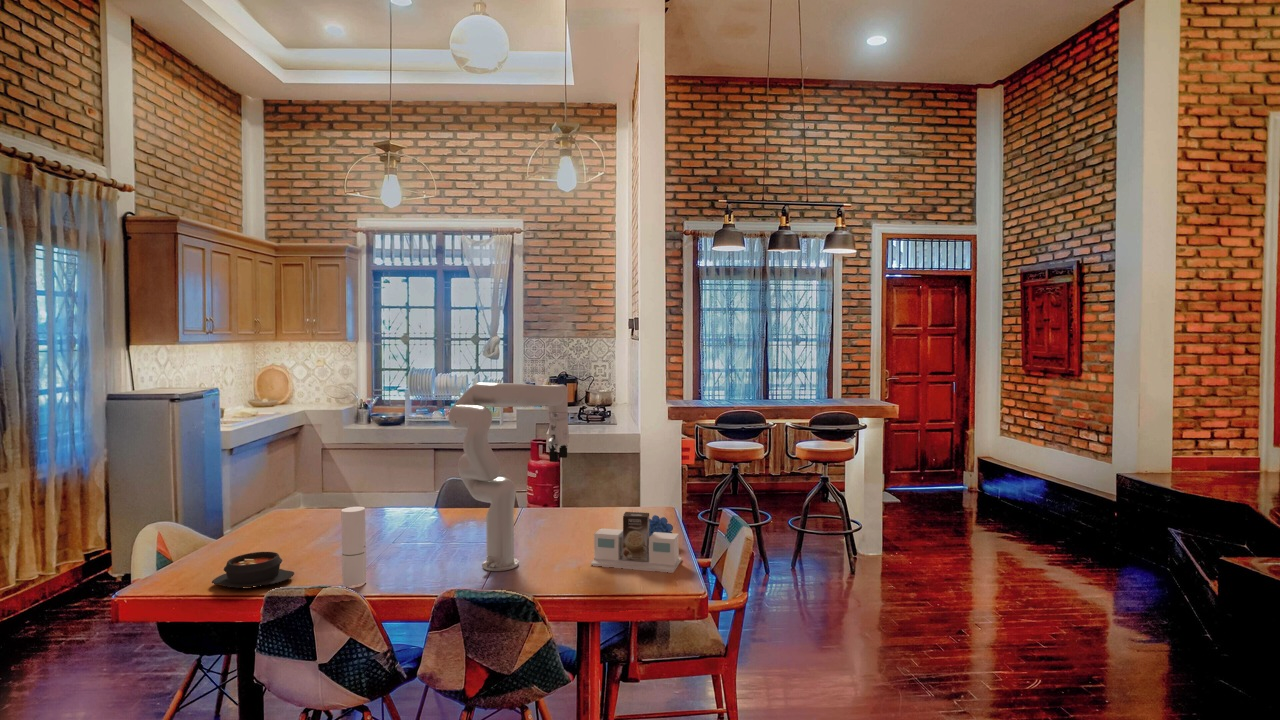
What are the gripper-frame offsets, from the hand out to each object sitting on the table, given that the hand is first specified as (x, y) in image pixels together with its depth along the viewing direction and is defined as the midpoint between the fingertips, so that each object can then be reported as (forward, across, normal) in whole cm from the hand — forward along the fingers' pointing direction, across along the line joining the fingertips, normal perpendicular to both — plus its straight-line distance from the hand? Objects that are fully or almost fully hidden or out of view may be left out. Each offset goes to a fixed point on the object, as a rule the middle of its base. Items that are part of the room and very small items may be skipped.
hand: (558, 459), depth 263 cm
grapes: (+34, +6, -39) cm, 52 cm away
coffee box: (+32, -15, -36) cm, 50 cm away
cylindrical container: (+34, -59, +48) cm, 83 cm away
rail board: (+33, -15, -36) cm, 51 cm away
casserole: (+34, -66, +82) cm, 110 cm away
